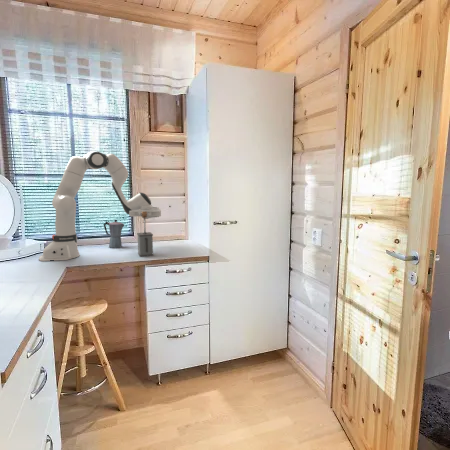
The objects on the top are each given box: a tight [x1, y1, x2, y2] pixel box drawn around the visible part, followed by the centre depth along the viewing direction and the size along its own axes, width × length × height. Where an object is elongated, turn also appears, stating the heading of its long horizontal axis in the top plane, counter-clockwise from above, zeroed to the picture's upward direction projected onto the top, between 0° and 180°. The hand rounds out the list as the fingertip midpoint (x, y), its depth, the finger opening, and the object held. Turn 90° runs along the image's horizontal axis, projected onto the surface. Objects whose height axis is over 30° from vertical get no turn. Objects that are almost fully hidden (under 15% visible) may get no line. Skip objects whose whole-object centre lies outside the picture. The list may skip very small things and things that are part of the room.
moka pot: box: [103, 219, 125, 249], centre depth 223 cm, size 10×15×20 cm, turn 89°
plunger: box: [141, 211, 147, 234], centre depth 200 cm, size 6×6×20 cm
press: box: [136, 231, 154, 258], centre depth 200 cm, size 8×11×14 cm
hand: (144, 214), depth 198 cm, fingers closed on plunger, 3 cm apart
